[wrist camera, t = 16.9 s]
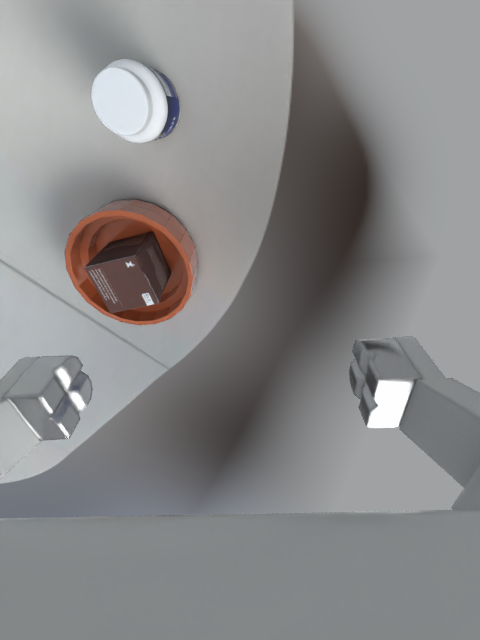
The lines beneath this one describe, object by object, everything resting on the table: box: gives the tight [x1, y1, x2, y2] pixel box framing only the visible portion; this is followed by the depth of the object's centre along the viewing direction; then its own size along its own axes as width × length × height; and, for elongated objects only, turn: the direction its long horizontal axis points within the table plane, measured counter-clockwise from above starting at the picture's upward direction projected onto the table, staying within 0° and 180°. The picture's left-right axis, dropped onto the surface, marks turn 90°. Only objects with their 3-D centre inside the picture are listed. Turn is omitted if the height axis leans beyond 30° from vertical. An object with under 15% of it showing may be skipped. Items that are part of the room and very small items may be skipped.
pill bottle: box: [91, 59, 181, 143], centre depth 25 cm, size 5×5×10 cm
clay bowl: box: [65, 200, 198, 325], centre depth 36 cm, size 14×14×5 cm
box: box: [84, 231, 171, 313], centre depth 35 cm, size 6×6×7 cm
